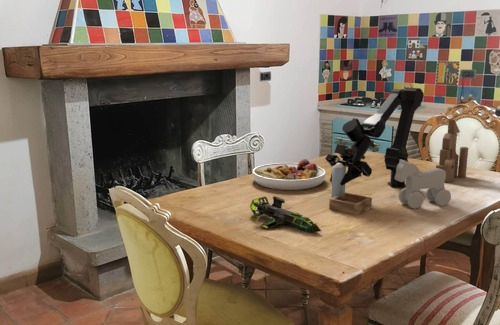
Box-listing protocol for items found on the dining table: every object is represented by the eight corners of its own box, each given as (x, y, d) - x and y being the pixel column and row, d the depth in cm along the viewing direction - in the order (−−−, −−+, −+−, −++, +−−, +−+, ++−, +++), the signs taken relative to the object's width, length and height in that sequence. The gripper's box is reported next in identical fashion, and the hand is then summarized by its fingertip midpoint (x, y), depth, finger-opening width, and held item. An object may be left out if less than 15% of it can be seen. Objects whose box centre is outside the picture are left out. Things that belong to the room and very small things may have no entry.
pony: (403, 212, 170) (406, 163, 167) (387, 203, 180) (390, 157, 176) (454, 206, 176) (458, 159, 172) (436, 198, 185) (439, 153, 182)
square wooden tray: (344, 201, 182) (345, 192, 181) (371, 207, 175) (371, 197, 175) (329, 208, 174) (329, 199, 173) (356, 215, 168) (357, 204, 167)
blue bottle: (330, 198, 186) (331, 161, 183) (343, 198, 186) (344, 161, 183) (332, 202, 182) (333, 164, 178) (345, 202, 182) (347, 164, 179)
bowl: (300, 197, 189) (301, 176, 187) (237, 184, 207) (237, 165, 205) (338, 180, 212) (338, 162, 211) (278, 170, 230) (278, 153, 228)
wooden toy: (450, 183, 206) (455, 122, 200) (434, 180, 211) (439, 120, 205) (467, 176, 216) (472, 118, 211) (451, 174, 221) (456, 117, 215)
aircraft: (302, 249, 145) (303, 228, 143) (235, 220, 164) (236, 201, 162) (338, 233, 157) (340, 214, 155) (272, 208, 176) (273, 190, 174)
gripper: (329, 132, 188) (306, 165, 185) (368, 139, 174) (344, 175, 170) (343, 150, 195) (322, 182, 191) (382, 158, 180) (359, 193, 176)
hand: (335, 183), depth 182 cm, fingers closed on blue bottle, 5 cm apart
